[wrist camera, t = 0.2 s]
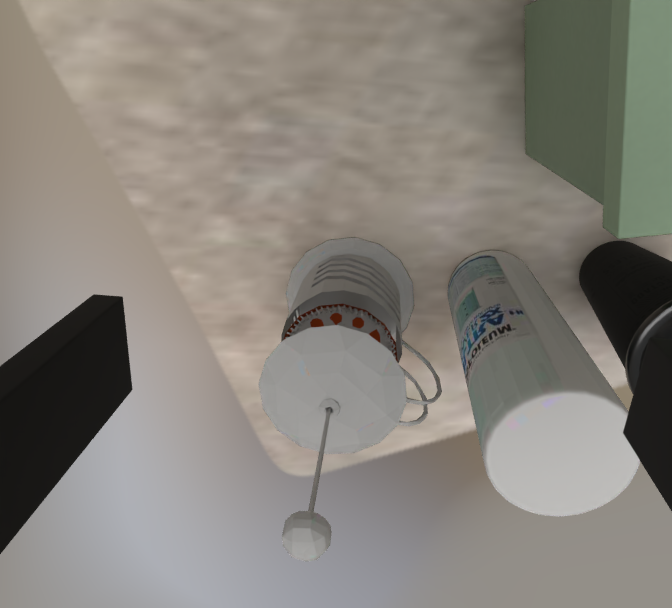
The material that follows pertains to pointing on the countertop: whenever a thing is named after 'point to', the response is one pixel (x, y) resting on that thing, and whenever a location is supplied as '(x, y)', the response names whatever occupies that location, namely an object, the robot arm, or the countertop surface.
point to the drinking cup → (629, 299)
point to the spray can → (536, 393)
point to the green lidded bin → (604, 105)
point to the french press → (340, 364)
